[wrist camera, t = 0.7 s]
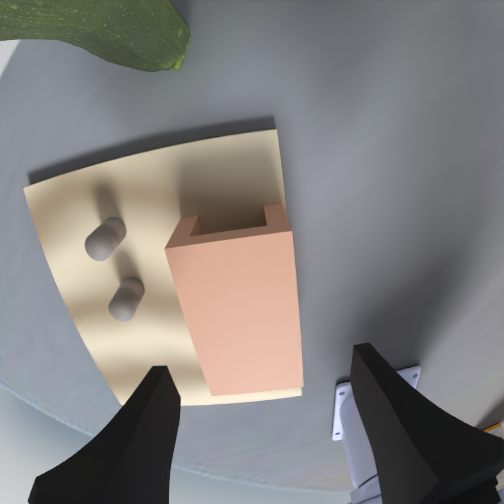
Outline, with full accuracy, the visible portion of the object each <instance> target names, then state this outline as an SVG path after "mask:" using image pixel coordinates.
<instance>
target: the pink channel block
mask: <svg viewBox="0 0 504 504" xmlns="http://www.w3.org/2000/svg"><path fill="white" fill-rule="evenodd" d="M264 212H265V220H266V226H261V227H254V228H247V229H240V230H232V231H225V232H218V233H211V234H205V235H202V231H201V227H200V222H199V217H198V216H192V217H186V218H181V219H180V221H179V222H178V224H177V226H176V228H175V230H174V232H173V233H172V235H171V237H170V239H169V241H168V243H167V245H166V246H165V248H164V250H165V253H166V257H167V261H168V264H169V268H170V271H171V275H172V278H173V282H174V285H175V288H176V292H177V295H178V298H179V302H180V305H181V308H182V311H183V315H184V318H185V321H186V324H187V327H188V330H189V333H190V336H191V339H192V342H193V345H194V348H195V351H196V354H197V357H198V360H199V363H200V366H201V368H202V371H203V374H204V377H205V380H206V382H207V385H208V388H209V390H210V393H211V396H221V395H235V394H246V393H256V392H266V391H274V390H282V389H290V388H297V387H304V386H303V367H302V350H301V334H300V319H299V305H298V292H297V280H296V268H295V257H294V246H293V235H292V229H291V227H290V224H289V221H288V218H287V216H286V213H285V210H284V207H283V205H282V204H275V205H268V206H264Z"/></svg>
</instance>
